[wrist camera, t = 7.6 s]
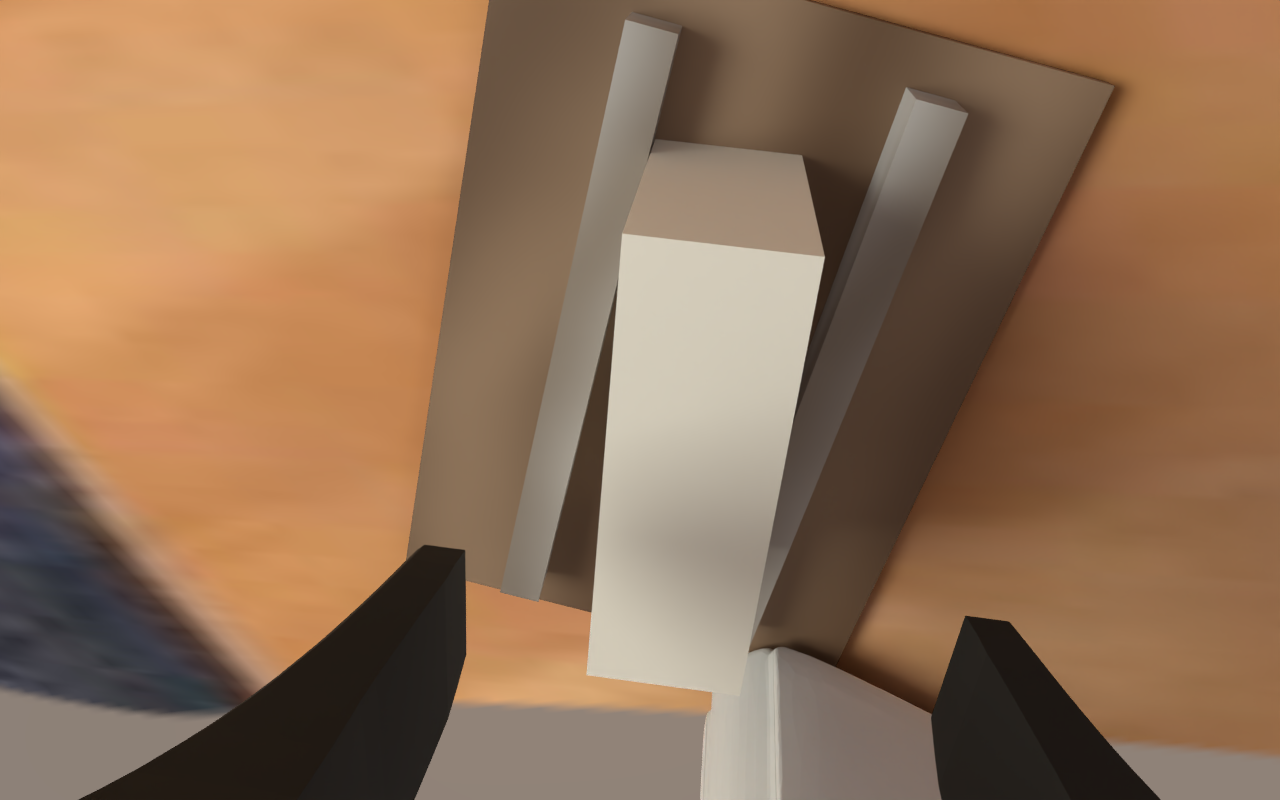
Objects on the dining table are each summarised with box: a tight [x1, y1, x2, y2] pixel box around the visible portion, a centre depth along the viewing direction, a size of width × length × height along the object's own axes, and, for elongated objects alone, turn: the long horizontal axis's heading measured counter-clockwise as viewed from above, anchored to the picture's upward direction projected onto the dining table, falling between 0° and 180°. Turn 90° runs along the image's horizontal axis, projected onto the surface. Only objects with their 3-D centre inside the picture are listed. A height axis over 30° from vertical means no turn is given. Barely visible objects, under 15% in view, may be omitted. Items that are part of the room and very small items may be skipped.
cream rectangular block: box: [587, 139, 825, 696], centre depth 18 cm, size 3×9×6 cm, turn 175°
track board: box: [406, 0, 1115, 667], centre depth 21 cm, size 12×16×2 cm
